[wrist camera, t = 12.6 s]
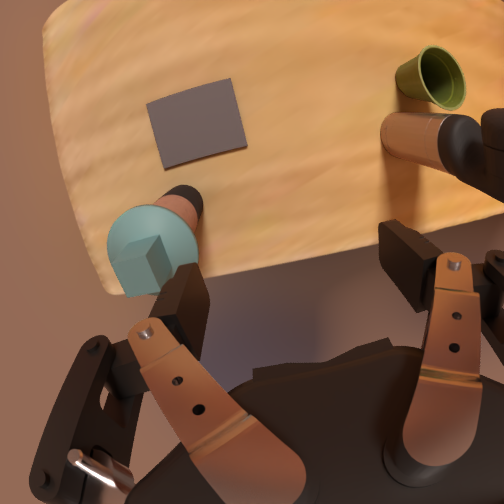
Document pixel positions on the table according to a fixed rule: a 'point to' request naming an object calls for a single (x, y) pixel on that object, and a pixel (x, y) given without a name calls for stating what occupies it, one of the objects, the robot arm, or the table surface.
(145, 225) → the lid
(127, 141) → the table surface
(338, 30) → the table surface
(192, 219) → the travel mug
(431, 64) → the plant pot
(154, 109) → the mat
